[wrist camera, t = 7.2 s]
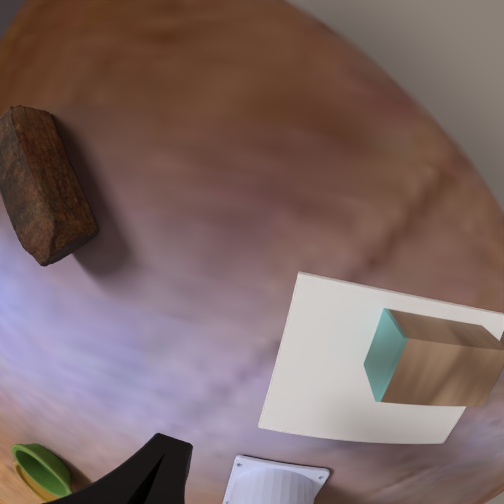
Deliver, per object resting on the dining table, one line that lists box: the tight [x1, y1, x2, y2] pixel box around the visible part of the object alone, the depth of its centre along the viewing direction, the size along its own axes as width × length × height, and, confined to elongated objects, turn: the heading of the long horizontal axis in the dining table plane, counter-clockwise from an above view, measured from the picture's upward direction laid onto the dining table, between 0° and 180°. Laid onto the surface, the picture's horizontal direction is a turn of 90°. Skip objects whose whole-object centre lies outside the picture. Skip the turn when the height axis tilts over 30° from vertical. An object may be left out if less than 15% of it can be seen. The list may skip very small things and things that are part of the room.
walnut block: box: [363, 308, 504, 407], centre depth 16 cm, size 4×4×8 cm
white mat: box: [258, 271, 504, 444], centre depth 19 cm, size 12×16×1 cm
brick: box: [0, 105, 98, 267], centre depth 17 cm, size 11×4×5 cm, turn 29°
